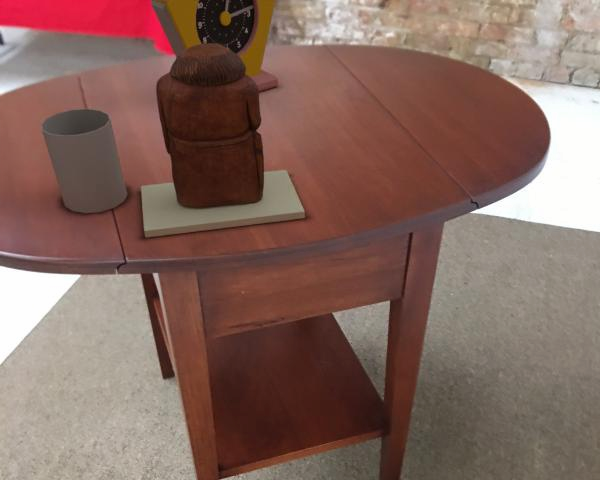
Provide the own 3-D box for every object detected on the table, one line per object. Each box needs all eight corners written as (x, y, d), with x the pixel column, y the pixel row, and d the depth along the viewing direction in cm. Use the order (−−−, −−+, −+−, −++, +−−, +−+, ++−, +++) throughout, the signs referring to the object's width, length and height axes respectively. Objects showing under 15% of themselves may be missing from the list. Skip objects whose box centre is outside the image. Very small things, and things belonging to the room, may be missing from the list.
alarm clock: (186, 114, 105) (164, -42, 90) (158, 98, 110) (133, -52, 95) (291, 83, 114) (287, -63, 99) (261, 70, 119) (253, -71, 104)
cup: (95, 177, 89) (76, 104, 82) (139, 191, 86) (124, 116, 79) (50, 203, 84) (26, 127, 77) (96, 218, 81) (75, 141, 74)
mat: (145, 237, 77) (143, 230, 77) (142, 192, 86) (140, 185, 85) (304, 218, 80) (304, 211, 79) (286, 176, 88) (286, 169, 88)
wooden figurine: (261, 182, 85) (252, 33, 72) (267, 205, 81) (258, 50, 68) (173, 190, 84) (147, 40, 71) (174, 213, 80) (147, 58, 67)
